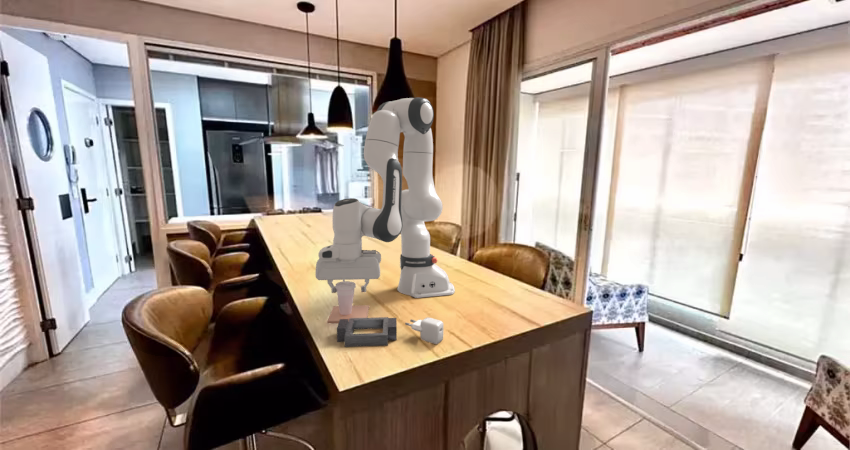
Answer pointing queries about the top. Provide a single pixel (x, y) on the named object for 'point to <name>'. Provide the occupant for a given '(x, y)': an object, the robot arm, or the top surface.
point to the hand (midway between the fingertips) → (349, 292)
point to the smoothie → (345, 296)
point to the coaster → (357, 312)
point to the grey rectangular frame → (366, 339)
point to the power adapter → (428, 329)
